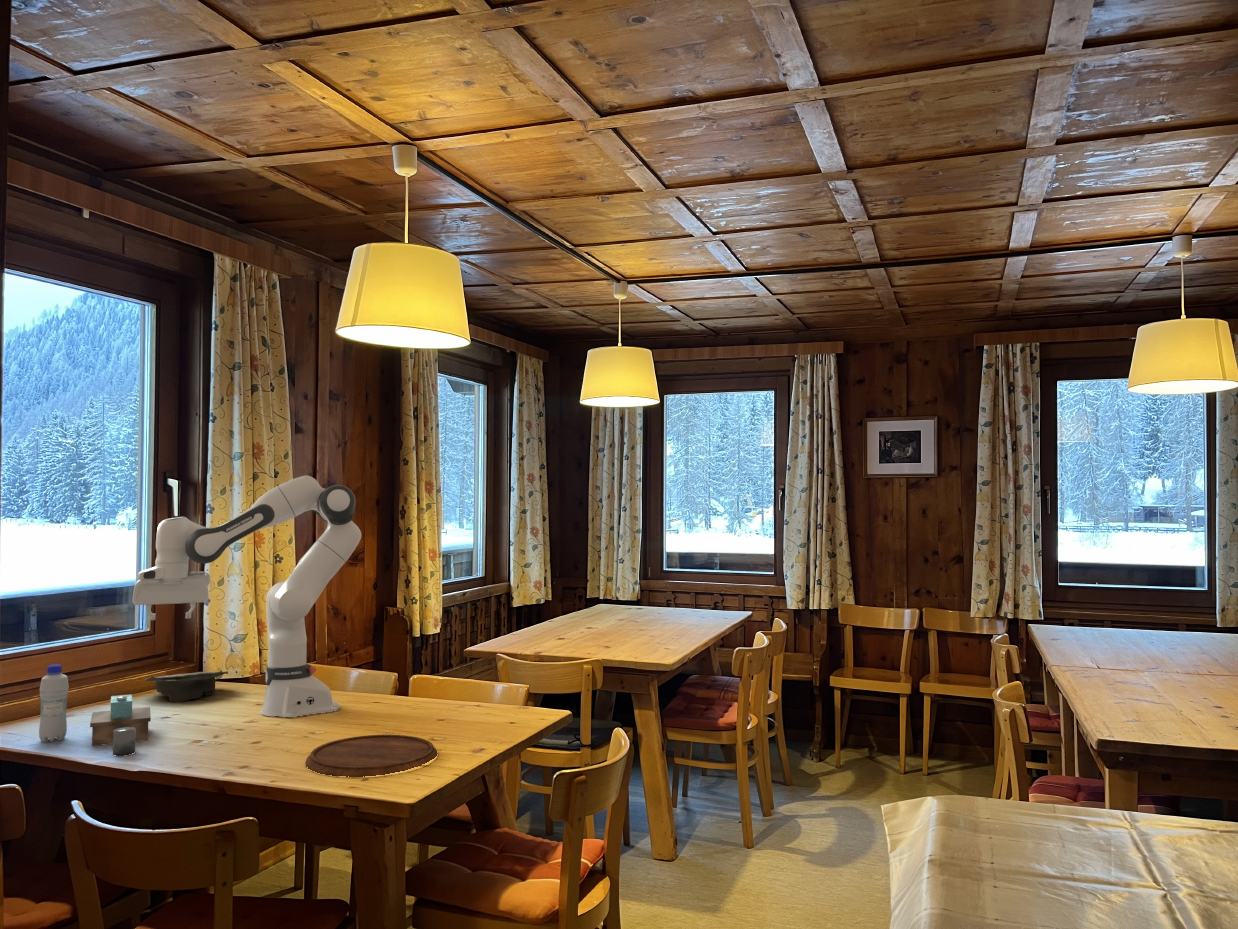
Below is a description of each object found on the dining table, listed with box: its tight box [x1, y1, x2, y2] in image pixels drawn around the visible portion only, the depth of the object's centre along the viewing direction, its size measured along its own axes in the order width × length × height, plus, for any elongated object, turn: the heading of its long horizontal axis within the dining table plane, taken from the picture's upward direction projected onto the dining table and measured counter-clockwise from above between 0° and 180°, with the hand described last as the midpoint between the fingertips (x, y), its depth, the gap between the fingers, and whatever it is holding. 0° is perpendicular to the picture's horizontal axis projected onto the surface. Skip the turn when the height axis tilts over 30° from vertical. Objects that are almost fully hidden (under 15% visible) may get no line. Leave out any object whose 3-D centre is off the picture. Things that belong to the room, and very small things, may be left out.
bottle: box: [38, 664, 70, 743], centre depth 243 cm, size 7×7×20 cm
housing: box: [110, 693, 133, 720], centre depth 245 cm, size 5×9×5 cm, turn 29°
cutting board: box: [304, 734, 439, 777], centre depth 227 cm, size 32×32×3 cm
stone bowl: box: [144, 670, 229, 703], centre depth 297 cm, size 25×25×9 cm
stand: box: [89, 706, 152, 747], centre depth 245 cm, size 14×14×6 cm
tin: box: [112, 727, 137, 757], centre depth 230 cm, size 5×5×6 cm
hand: (170, 619), depth 267 cm, fingers open, 8 cm apart
